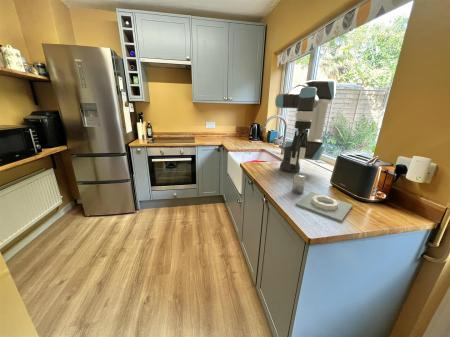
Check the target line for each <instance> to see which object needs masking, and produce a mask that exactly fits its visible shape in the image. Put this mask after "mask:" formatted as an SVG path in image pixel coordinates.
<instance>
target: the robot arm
mask: <svg viewBox="0 0 450 337" xmlns="http://www.w3.org/2000/svg"><path fill="white" fill-rule="evenodd" d="M335 95H336V80H335V79H319V80H317V79H316V80H314V79H313V80H307V81H304V82H302V83H299V84H297V85H296V86H295V87H294V88H293V89H292V90H289V91H288V92H287V93H278V94H277V95H276V97H275V102H274V103H275V107H276V108H277V109H297V110H296V113H295V119H296V121H295V124H294V128H295V129H297V130H295V131H294V134H293V135H294V136H293V138H292V139H291V140H286V141H285V142H284V148H283V156H282V161H281V162H280V165H279V170H280V171H282V172H285V173H293V174H294V173H295V174H297V173H299V172H300V170H301V166H300V160H309V161H317V162H318V161H320V160H321V157H322V155H323V152H324V150H325V145H324V142H323V140H322V138H323V133H324V132H323V131H324V128H325V127H324V126H325V122H326V117H327V112H328V111H327V110H328V106H329V104H330V103H332V100H333V99H335V97H336V96H335Z"/></svg>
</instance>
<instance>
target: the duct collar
mask: <svg viewBox="0 0 450 337" xmlns="http://www.w3.org/2000/svg"><path fill="white" fill-rule="evenodd" d="M306 179H307V176H306V175H305V174H302V173H295V174H294V175H293V182H292V183H293V184H292V187H291V188H292V190H291V192H292V194H295V195H303V194H304V190H305V183H306Z"/></svg>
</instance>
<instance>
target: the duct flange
mask: <svg viewBox="0 0 450 337" xmlns="http://www.w3.org/2000/svg"><path fill="white" fill-rule="evenodd" d="M295 206H296V207H299V208H301V209H304V210H307V211H309V212H312V213H315V214H318V215H321V216H323V217H325V218H327V219H331V220H333V221H337V222H339V223H342V222H343V221H344V219H345V218H346V217H347V215H348V213H350V211H351V209H352V208H353V207H354V205H353V204H352V203H349V202H345V201H343V200H339V199H335V198H333V197H331V196H327V195H323V194H319V193H316V192H312V191H311V192H309V193H308V194H305V196H304V197H302V198H301V199H299V200H298V201H297V202H296V203H295Z"/></svg>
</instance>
